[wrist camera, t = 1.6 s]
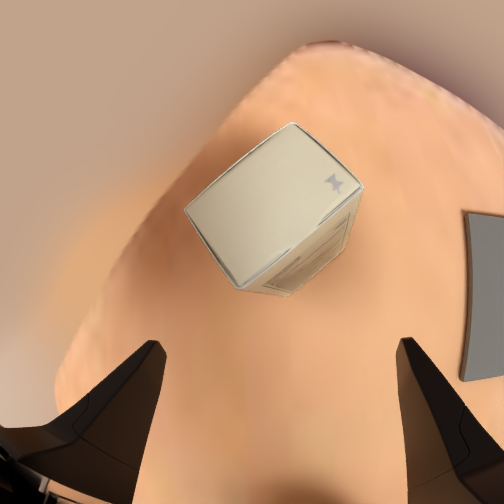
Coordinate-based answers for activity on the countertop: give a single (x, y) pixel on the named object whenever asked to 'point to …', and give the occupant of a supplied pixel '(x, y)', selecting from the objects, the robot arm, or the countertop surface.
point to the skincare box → (278, 213)
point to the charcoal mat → (484, 298)
